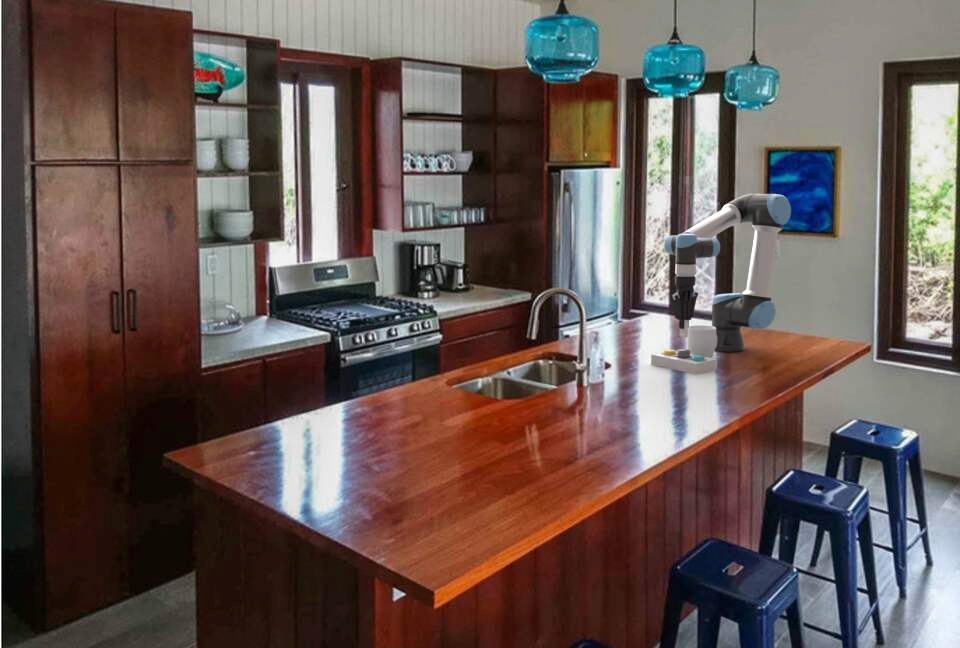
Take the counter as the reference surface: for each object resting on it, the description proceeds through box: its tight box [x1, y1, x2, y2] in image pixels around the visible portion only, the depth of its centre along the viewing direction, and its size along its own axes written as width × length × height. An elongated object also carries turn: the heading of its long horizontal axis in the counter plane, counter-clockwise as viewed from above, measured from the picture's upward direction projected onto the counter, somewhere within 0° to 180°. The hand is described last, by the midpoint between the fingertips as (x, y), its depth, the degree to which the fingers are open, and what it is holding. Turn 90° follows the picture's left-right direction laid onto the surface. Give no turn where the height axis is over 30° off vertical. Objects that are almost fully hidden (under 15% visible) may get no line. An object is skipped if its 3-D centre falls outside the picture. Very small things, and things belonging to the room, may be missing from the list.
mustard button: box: [662, 349, 677, 356], centre depth 346 cm, size 5×5×4 cm
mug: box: [686, 324, 717, 358], centre depth 352 cm, size 15×11×13 cm
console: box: [650, 350, 718, 375], centre depth 340 cm, size 12×22×4 cm, turn 36°
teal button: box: [691, 355, 705, 362], centre depth 334 cm, size 5×5×4 cm
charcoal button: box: [676, 348, 690, 359], centre depth 340 cm, size 5×5×4 cm
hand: (683, 336), depth 338 cm, fingers closed
